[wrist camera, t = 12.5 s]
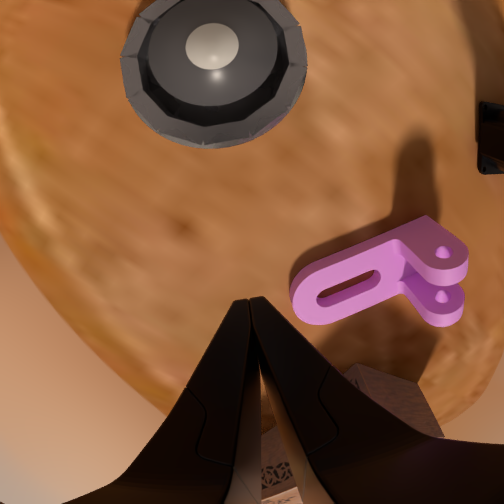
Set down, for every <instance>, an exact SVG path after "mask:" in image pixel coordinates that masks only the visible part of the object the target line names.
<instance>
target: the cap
mask: <svg viewBox="0 0 504 504" xmlns="http://www.w3.org/2000/svg"><path fill="white" fill-rule="evenodd" d="M277 47H278V45H277V37H276V33H275V30H274V28H273V25H272V23H271V22H270V20H269V19H268V17H267V16H266V15H265V14H264V12H263V11H261V10H260V9H259V8H258V7H257V6H255V5H254V4H252V3H251V2H249V1H247V0H185V1H183V2H181V3H179V4H178V5H176V6H175V7H173V8H172V9H171V10H169V11H168V12H167V13H166V14H165V15H164V16H163V17H162V18H161V20H160V21H159V22H158V24H157V25H156V27H155V29H154V31H153V33H152V36H151V39H150V43H149V51H148V56H149V63H150V67H151V70H152V73H153V75H154V77H155V78H156V80H157V82H158V83H159V84H160V85H161V86H162V88H164V89H165V90H166V91H167V92H168V93H169V94H171V95H172V96H174V97H175V98H177V99H179V100H181V101H184V102H187V103H190V104H195V105H201V106H219V105H225V104H229V103H232V102H235V101H238V100H240V99H242V98H244V97H246V96H247V95H249V94H251V93H252V92H254V91H255V90H256V89H257V88H258V87H259V86H260V85H261V84H262V83H263V82H264V81H265V80H266V79H267V77H268V76H269V74H270V72H271V71H272V69H273V66H274V64H275V61H276V56H277Z"/></svg>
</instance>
